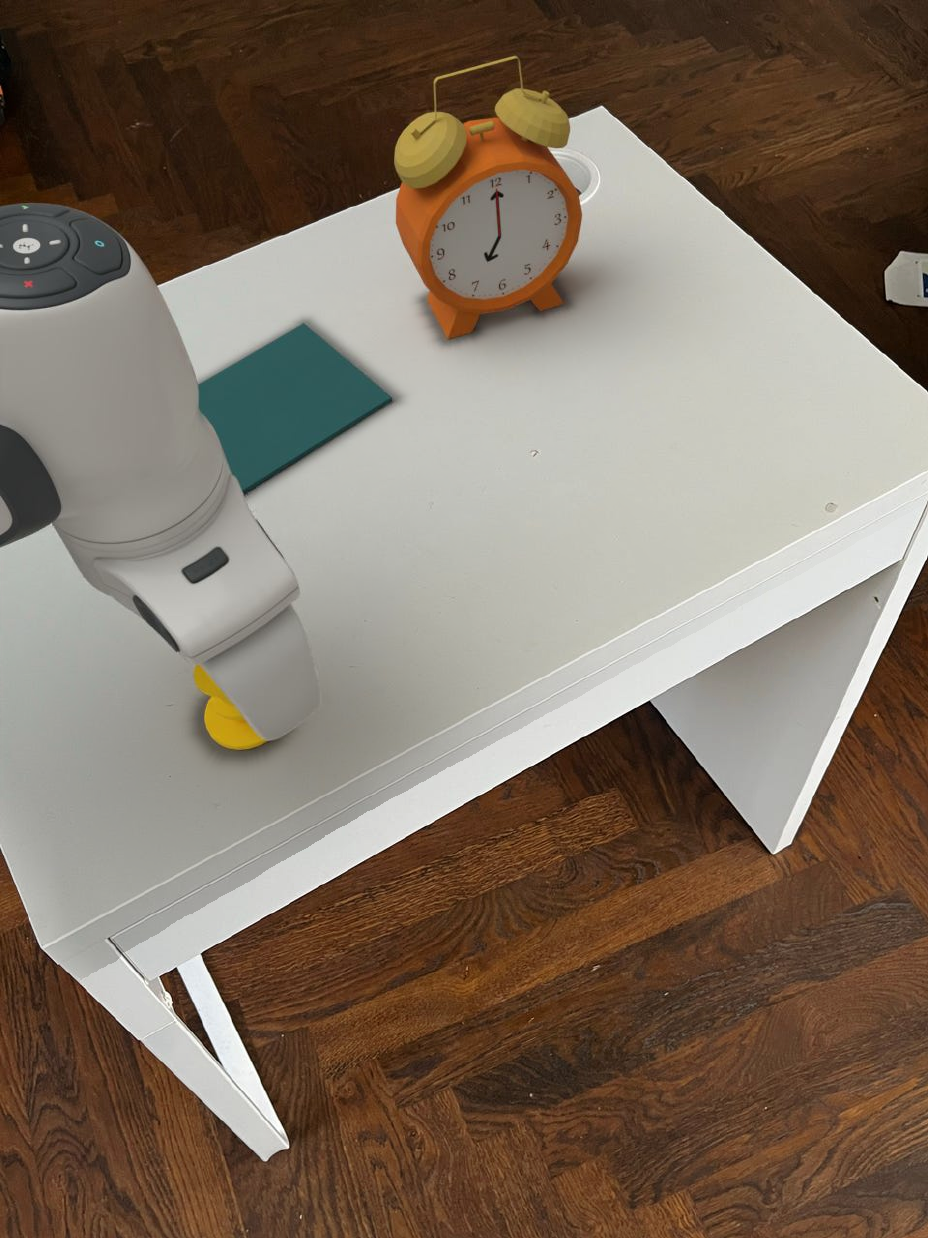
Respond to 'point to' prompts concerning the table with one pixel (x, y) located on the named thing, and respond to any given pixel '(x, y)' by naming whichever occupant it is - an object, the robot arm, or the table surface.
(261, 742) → the candle
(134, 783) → the table surface
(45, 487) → the robot arm
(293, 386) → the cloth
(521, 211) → the alarm clock
